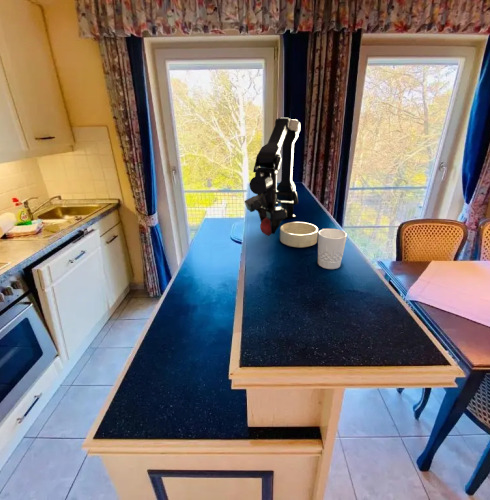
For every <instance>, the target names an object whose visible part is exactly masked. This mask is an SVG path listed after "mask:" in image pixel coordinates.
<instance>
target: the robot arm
mask: <svg viewBox="0 0 490 500" xmlns="http://www.w3.org/2000/svg"><path fill="white" fill-rule="evenodd" d="M300 132H301V122H300V121H299V120H298V119H296V118H295V119H291V118H289V117H278V118H276V119H275V121H274V127H273V129H272V132H271V134H270V136H269V138H268V141H267V143H266V144H264V145H263V146H262V147H260V149H259V151H258V153H257V154H256V157H255V161H254V165H253V170H252V171H253V173H254V176H253V177H252V178H251V179H250V182H249V189H250V191H251V192H252V193H253V194H255V195H253V196H252V197H249V198H247V199H245V200H244V205H245V207H246V210H248V211H249V212H250V213H252V212H257V213H258V217H259V221H260V223H261V222H262V221H263V220H264V219H265V218H266V217H267V218H268V219H269V220H270V225H271V233H272V234H271V235H275V234H276V232H277V230H278V228H279V226H281V223H282V221H283V220H287V219H294V218H297V216H296V215H295V214H294V206H296V205H298V204H299V197H298V192H297V191H296V190H297V189H296V184H295V182H294V181H293V172H294V171H293V170H294V168H293V167H294V153H295V143H296V141H297V140H298V138H299V134H300ZM281 151H282V152H281ZM280 168H281V175H280V176H281V177H280V178H281V179H280V182H279V183H278V171H279V170H280Z"/></svg>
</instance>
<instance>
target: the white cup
mask: <svg viewBox="0 0 490 500" xmlns="http://www.w3.org/2000/svg"><path fill="white" fill-rule="evenodd" d="M347 236H348V234H347V232H345V231H344V230H342V229H338V228H322V229H320V230H318V237H317V265H318V266H319V267H321V268H323V269H327V270H335V269H336V270H337V269H339V268H340V267H341V265H342V259H343V258H344V257H343V256H344V253H345V247H346V242H347Z"/></svg>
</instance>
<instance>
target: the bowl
mask: <svg viewBox="0 0 490 500" xmlns="http://www.w3.org/2000/svg"><path fill="white" fill-rule="evenodd" d="M318 236H319V228H318V226H317V225H315V224H313V223H309V222H305V221H291V222H286V223H283V224H282V225H280V227H279V241H280V242H281V243H282V244H284V245H286V246H287V247H292V248H308V247H311V246H314V245H316V244H318Z"/></svg>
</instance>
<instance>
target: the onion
mask: <svg viewBox="0 0 490 500" xmlns="http://www.w3.org/2000/svg"><path fill="white" fill-rule="evenodd" d="M259 227H260V229H259V230H260V231H261V233H262V234H264V235H265V236H268V237H269V236H271V235H273V234H272V233H271V225H270V220H269V219H268V218H267V217H266V218H265V219H264V220H263V221H262V222H261V221H260V225H259Z"/></svg>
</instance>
